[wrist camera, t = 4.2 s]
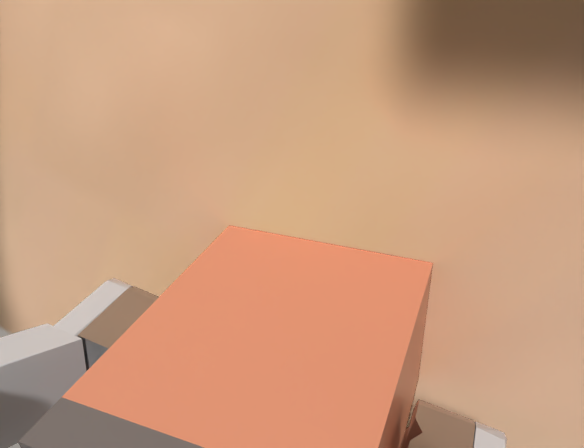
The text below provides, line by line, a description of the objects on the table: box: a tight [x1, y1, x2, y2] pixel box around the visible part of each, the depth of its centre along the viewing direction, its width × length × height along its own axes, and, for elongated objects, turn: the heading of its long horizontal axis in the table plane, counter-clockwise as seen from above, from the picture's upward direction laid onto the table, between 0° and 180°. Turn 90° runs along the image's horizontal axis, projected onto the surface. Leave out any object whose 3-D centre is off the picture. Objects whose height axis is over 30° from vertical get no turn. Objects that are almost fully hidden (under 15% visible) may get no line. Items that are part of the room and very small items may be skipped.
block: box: [18, 226, 433, 448], centre depth 9 cm, size 4×3×6 cm
